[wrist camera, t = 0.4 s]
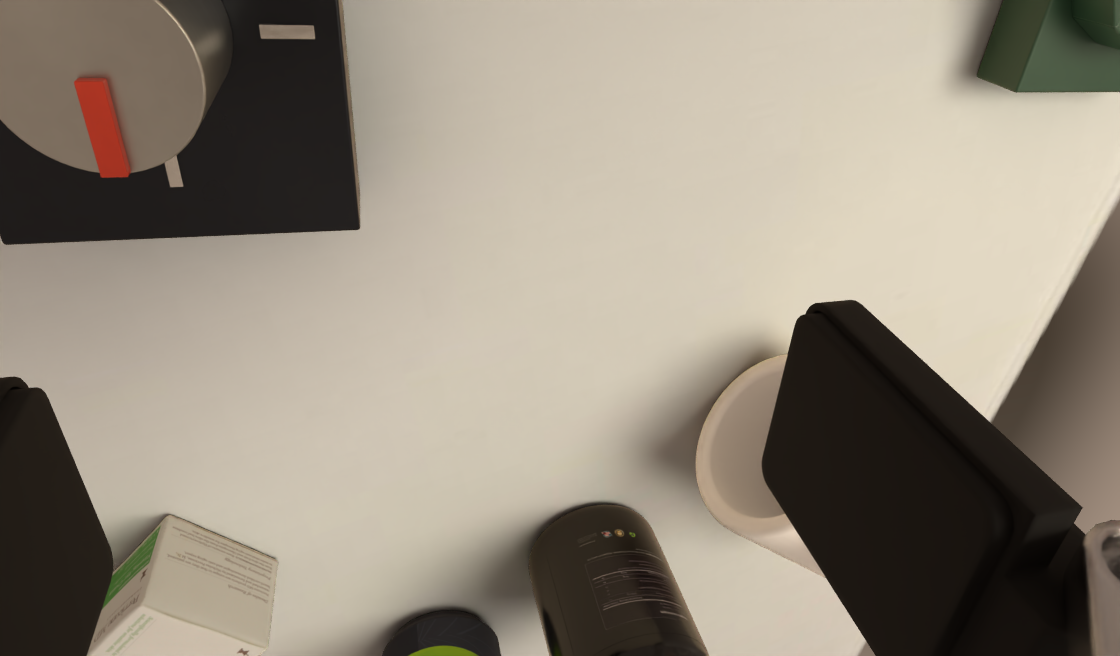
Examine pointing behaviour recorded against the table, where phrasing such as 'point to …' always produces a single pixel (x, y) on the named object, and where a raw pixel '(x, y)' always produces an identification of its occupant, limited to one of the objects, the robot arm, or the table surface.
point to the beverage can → (444, 636)
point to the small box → (187, 597)
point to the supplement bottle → (609, 588)
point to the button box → (1055, 46)
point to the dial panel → (219, 149)
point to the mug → (746, 464)
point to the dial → (111, 77)
